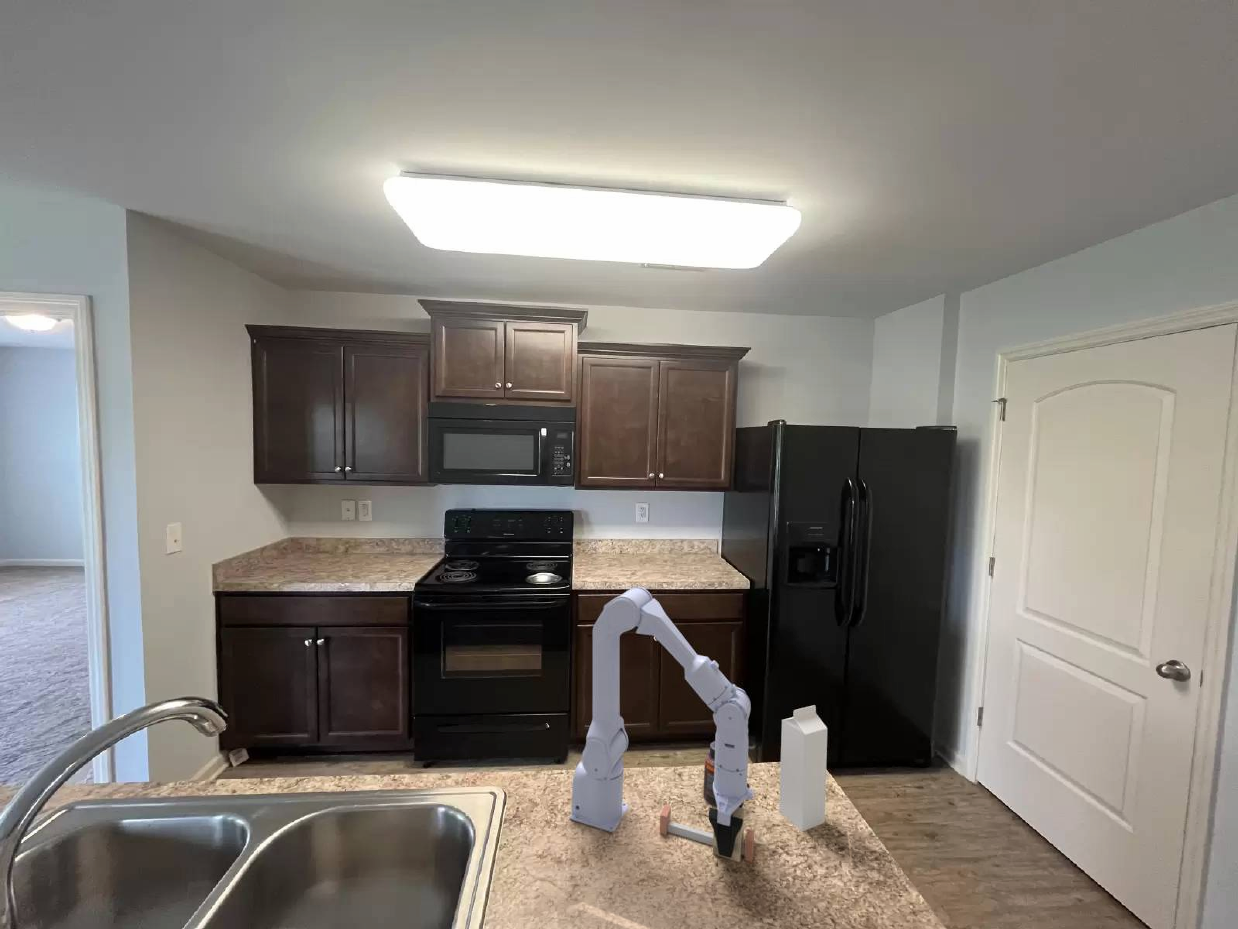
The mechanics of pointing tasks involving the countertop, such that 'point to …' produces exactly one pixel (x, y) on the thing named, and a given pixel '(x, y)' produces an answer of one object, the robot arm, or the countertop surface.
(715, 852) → the slider block
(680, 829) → the rail board
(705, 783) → the supplement bottle
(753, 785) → the countertop surface
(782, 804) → the milk
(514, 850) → the countertop surface
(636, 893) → the countertop surface
